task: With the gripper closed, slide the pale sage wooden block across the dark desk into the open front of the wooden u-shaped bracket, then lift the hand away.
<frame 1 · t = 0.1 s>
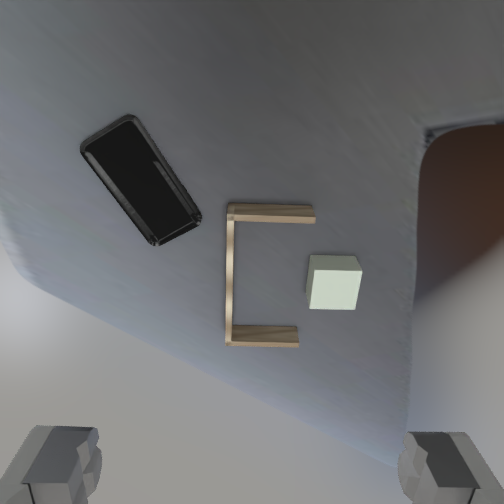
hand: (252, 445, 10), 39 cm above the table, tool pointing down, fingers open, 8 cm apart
sage block: (329, 273, 54), on the table
phone: (146, 182, 48), on the table
wooden u-shaped bracket: (264, 272, 54), on the table
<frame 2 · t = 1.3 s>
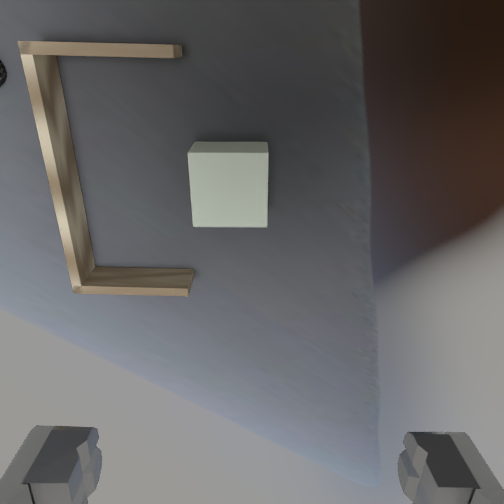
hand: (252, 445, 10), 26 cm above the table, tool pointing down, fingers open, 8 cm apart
sage block: (231, 176, 34), on the table
wooden u-shaped bracket: (127, 174, 34), on the table
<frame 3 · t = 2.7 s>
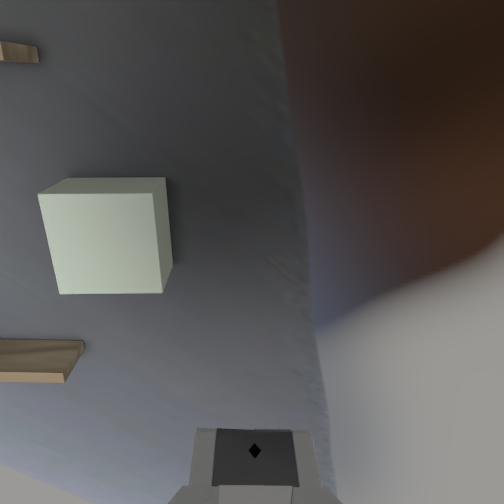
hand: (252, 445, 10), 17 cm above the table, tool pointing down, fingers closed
sage block: (123, 222, 26), on the table
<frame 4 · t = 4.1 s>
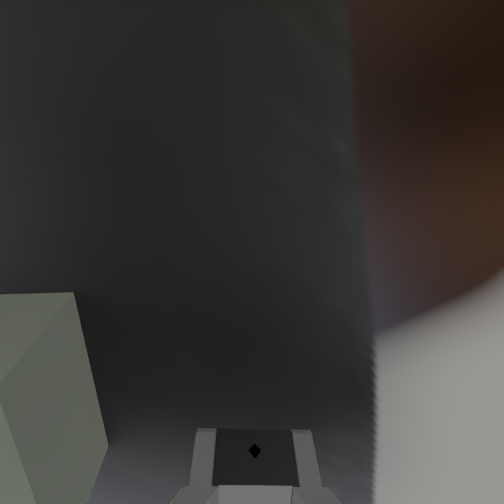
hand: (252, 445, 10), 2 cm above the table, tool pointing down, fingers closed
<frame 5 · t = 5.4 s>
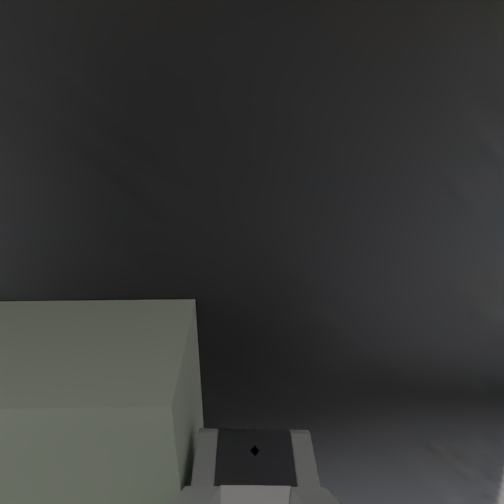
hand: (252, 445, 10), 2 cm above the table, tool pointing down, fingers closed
sage block: (103, 384, 12), on the table, touching gripper
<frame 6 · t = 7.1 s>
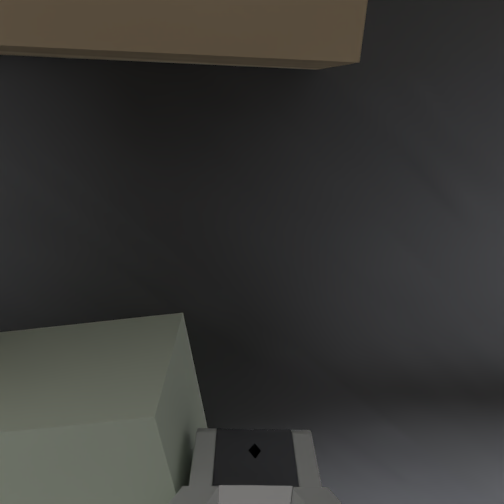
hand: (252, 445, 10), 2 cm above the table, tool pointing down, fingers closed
sage block: (108, 399, 13), on the table
wooden u-shaped bracket: (116, 387, 12), on the table
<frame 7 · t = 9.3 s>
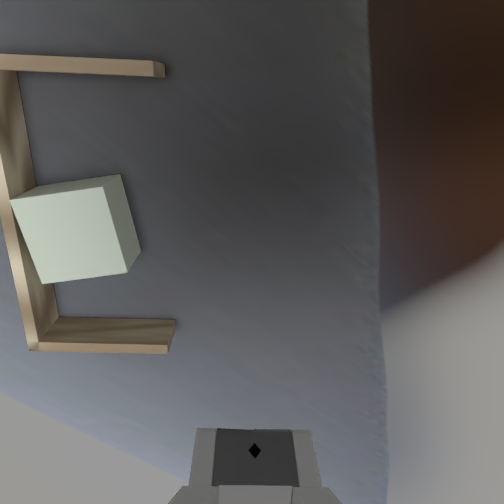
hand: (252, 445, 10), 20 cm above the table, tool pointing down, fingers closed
sage block: (92, 218, 30), on the table
wooden u-shaped bracket: (98, 210, 29), on the table
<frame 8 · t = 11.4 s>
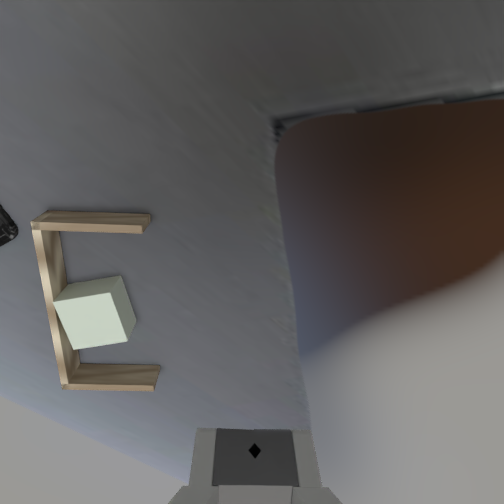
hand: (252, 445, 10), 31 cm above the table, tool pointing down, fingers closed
sage block: (103, 302, 45), on the table
wooden u-shaped bracket: (107, 297, 44), on the table
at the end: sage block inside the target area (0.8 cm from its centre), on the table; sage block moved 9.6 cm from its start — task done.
